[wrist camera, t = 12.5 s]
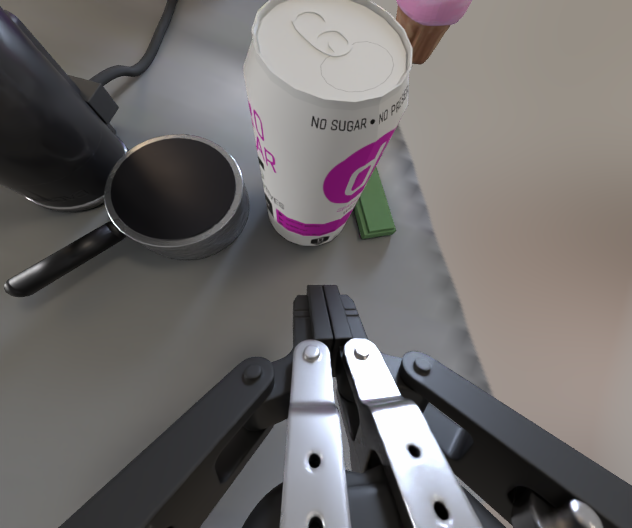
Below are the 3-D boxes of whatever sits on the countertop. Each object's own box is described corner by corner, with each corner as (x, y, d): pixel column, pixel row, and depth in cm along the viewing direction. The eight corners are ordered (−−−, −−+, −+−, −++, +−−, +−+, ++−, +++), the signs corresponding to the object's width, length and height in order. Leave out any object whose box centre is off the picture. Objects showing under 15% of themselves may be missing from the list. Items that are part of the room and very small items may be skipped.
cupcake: (440, 80, 32) (504, -26, 23) (380, 74, 31) (420, -40, 22) (429, 36, 35) (483, -77, 25) (373, 29, 34) (407, -91, 24)
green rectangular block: (344, 174, 26) (346, 165, 25) (372, 171, 27) (377, 162, 25) (361, 239, 24) (365, 234, 23) (392, 234, 25) (398, 229, 23)
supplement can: (361, 217, 25) (461, 60, 10) (303, 264, 23) (328, 149, 8) (311, 165, 26) (340, -40, 12) (251, 206, 24) (194, 14, 9)
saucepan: (207, 143, 25) (194, 113, 22) (271, 215, 24) (268, 195, 20) (14, 249, 20) (-44, 232, 16) (80, 349, 19) (32, 354, 15)
